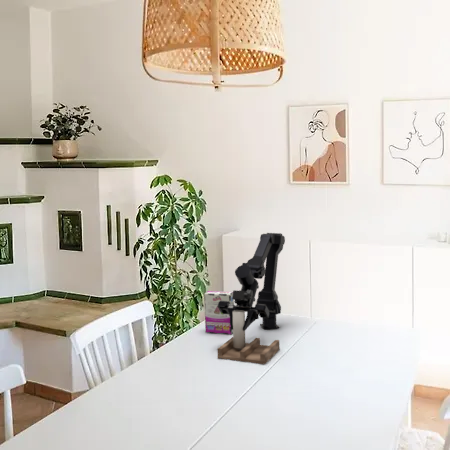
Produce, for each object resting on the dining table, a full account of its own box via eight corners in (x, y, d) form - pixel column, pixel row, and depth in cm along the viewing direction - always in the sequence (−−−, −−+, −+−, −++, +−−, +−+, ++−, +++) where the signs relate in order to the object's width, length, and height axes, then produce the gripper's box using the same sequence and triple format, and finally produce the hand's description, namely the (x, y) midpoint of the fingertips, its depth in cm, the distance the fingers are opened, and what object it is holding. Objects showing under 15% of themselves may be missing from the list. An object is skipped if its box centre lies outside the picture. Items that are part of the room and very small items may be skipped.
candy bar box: (235, 331, 247) (234, 291, 244) (231, 334, 242) (230, 294, 240) (208, 329, 250) (207, 290, 248) (204, 333, 245) (203, 293, 243)
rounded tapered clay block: (231, 345, 222) (230, 310, 220) (241, 343, 224) (240, 309, 222) (237, 349, 218) (236, 313, 216) (247, 346, 220) (247, 311, 218)
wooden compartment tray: (234, 344, 230) (234, 335, 230) (279, 349, 223) (279, 340, 223) (217, 358, 216) (217, 348, 215) (264, 364, 209) (264, 354, 208)
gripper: (218, 279, 225) (206, 316, 216) (266, 282, 217) (256, 321, 209) (227, 294, 233) (216, 331, 225) (273, 298, 226) (264, 336, 217)
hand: (237, 329), depth 219 cm, fingers closed on rounded tapered clay block, 4 cm apart
